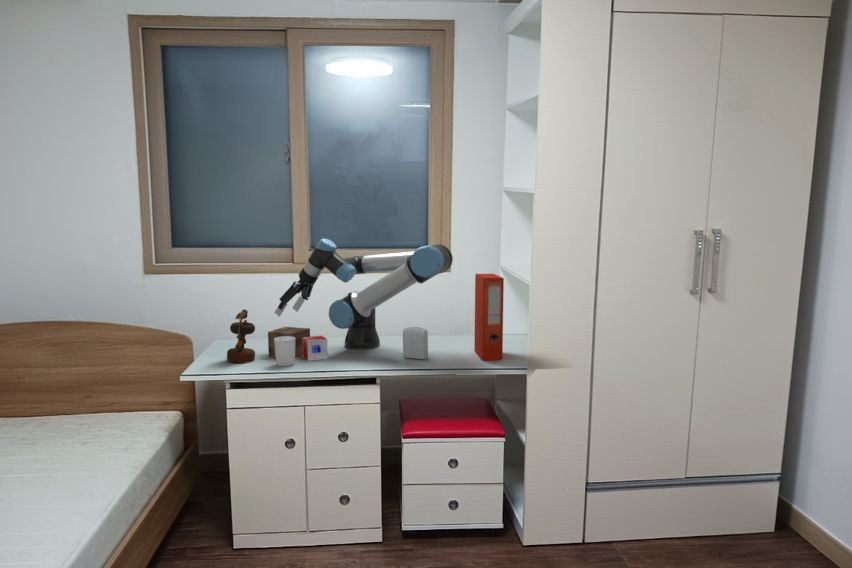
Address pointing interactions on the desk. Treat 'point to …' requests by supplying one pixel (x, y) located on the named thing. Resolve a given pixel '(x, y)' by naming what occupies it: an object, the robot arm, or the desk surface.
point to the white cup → (285, 350)
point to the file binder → (489, 316)
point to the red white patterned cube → (314, 348)
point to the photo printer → (415, 343)
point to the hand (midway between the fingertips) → (286, 312)
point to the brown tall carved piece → (241, 340)
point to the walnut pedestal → (288, 331)
